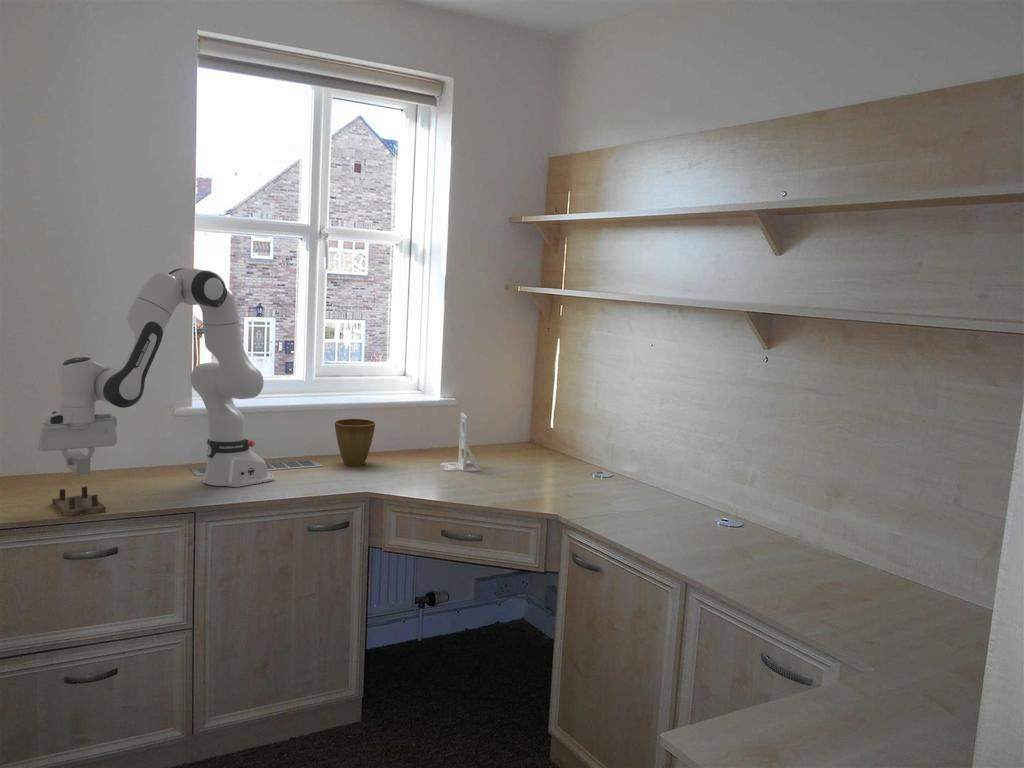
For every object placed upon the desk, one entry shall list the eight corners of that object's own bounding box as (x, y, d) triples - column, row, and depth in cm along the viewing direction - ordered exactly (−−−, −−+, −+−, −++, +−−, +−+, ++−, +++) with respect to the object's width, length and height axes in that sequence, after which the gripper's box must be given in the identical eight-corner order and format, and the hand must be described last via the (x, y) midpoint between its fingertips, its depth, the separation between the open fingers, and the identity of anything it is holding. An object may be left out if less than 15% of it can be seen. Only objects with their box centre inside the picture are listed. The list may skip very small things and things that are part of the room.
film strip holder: (439, 463, 321) (441, 411, 319) (475, 463, 324) (477, 412, 322) (443, 471, 307) (445, 417, 305) (481, 471, 310) (483, 418, 308)
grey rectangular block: (79, 465, 242) (78, 450, 242) (90, 473, 233) (89, 458, 233) (66, 466, 240) (65, 451, 240) (76, 475, 231) (76, 459, 231)
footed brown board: (90, 499, 247) (90, 484, 247) (105, 512, 235) (105, 496, 235) (52, 503, 241) (52, 488, 240) (65, 517, 229) (65, 500, 228)
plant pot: (328, 461, 315) (329, 419, 313) (366, 459, 322) (367, 418, 320) (340, 469, 302) (341, 425, 300) (379, 467, 309) (380, 424, 307)
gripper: (113, 411, 244) (113, 458, 246) (34, 415, 231) (35, 465, 232) (120, 414, 239) (120, 462, 241) (39, 419, 226) (40, 469, 228)
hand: (77, 463), depth 237 cm, fingers closed on grey rectangular block, 3 cm apart
